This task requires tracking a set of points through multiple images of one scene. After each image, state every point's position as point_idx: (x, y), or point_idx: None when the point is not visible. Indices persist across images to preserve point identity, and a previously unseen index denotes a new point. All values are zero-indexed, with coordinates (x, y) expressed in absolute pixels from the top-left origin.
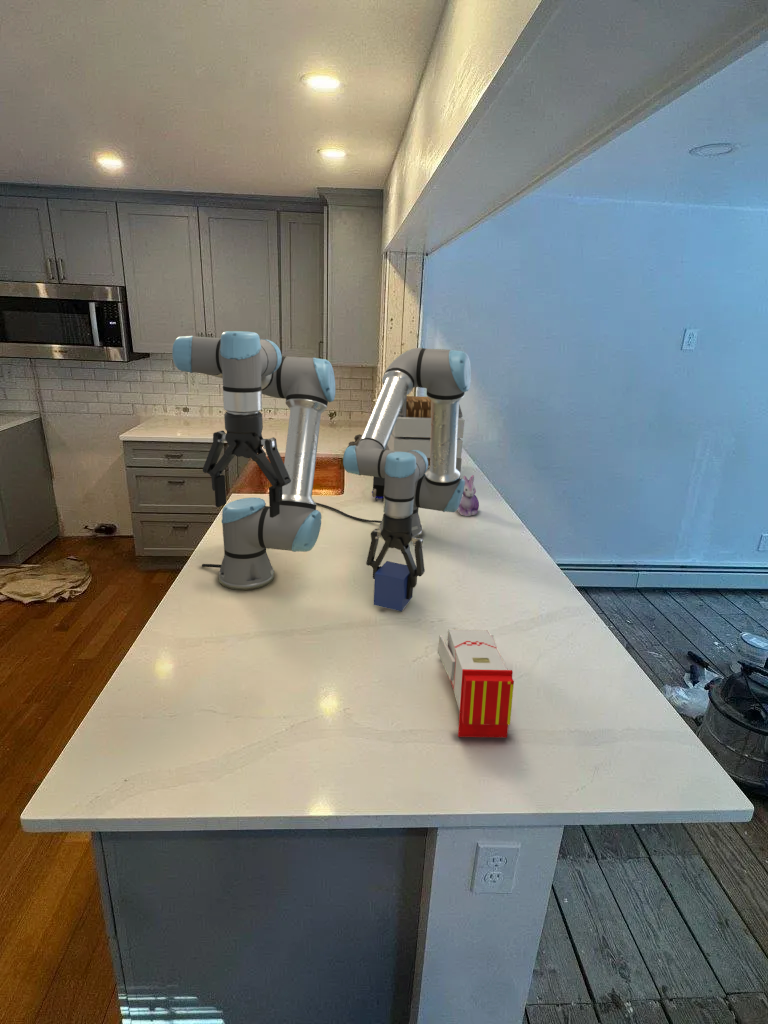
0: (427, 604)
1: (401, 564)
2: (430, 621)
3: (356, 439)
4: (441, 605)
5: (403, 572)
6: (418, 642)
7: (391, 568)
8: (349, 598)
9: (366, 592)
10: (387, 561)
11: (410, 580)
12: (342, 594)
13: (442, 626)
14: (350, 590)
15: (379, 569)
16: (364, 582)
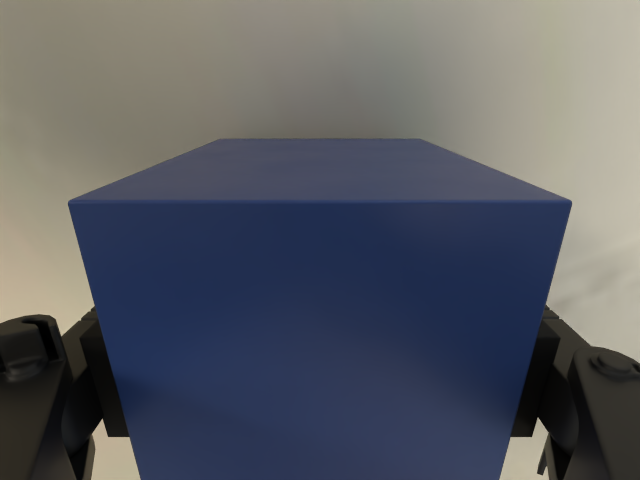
0: (518, 141)
1: (344, 223)
2: (552, 307)
3: None
4: (611, 112)
5: (444, 428)
6: (516, 455)
7: (262, 394)
8: (75, 273)
9: (109, 165)
10: (89, 220)
11: None
12: (12, 250)
13: (615, 323)
14: (12, 186)
15: (146, 466)
16: (2, 24)
